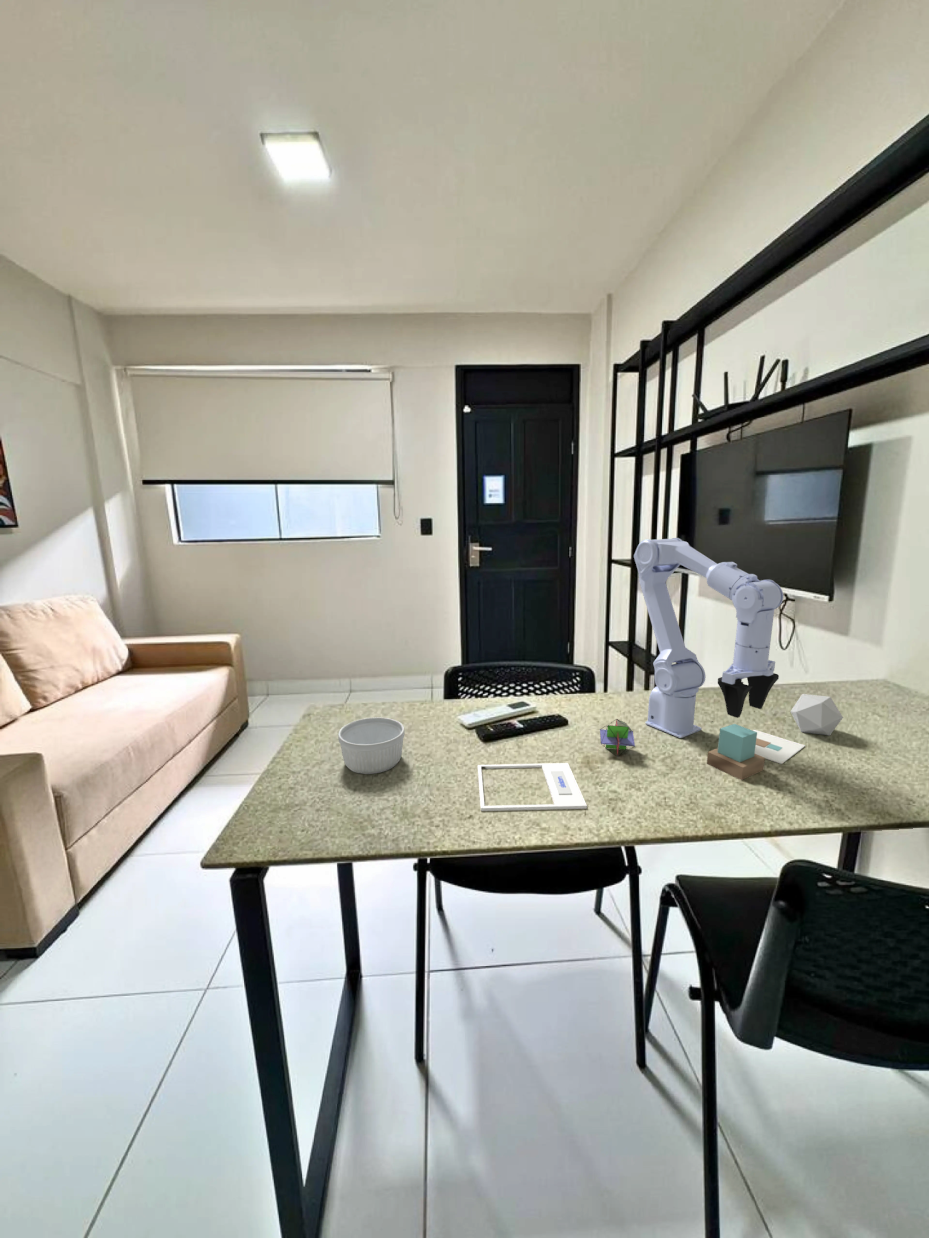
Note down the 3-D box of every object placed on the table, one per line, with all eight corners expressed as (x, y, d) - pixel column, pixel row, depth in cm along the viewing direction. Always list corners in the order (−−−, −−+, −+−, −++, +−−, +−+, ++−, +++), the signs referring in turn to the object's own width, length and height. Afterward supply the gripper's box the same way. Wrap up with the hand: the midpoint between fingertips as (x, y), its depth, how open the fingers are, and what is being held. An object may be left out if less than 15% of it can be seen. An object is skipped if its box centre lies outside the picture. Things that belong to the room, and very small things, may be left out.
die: (833, 729, 110) (807, 689, 113) (860, 726, 102) (831, 683, 105) (800, 744, 110) (775, 703, 113) (824, 742, 101) (796, 698, 105)
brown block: (706, 765, 95) (707, 751, 94) (728, 756, 98) (729, 743, 98) (741, 782, 89) (742, 767, 88) (763, 772, 92) (764, 757, 92)
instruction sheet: (728, 745, 102) (729, 744, 102) (754, 730, 109) (754, 729, 109) (781, 764, 94) (781, 762, 94) (805, 746, 101) (805, 744, 101)
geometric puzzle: (637, 755, 94) (636, 715, 98) (601, 752, 96) (601, 713, 99) (632, 761, 101) (631, 723, 104) (598, 758, 102) (598, 721, 106)
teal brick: (717, 752, 94) (720, 728, 93) (731, 746, 96) (734, 723, 95) (739, 762, 90) (742, 737, 89) (754, 756, 92) (757, 732, 91)
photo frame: (587, 804, 81) (480, 807, 81) (586, 810, 81) (480, 813, 81) (567, 761, 96) (477, 764, 95) (567, 767, 96) (477, 769, 96)
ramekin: (415, 750, 103) (414, 720, 102) (389, 782, 91) (387, 748, 89) (359, 743, 107) (357, 714, 105) (327, 773, 94) (324, 740, 93)
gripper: (752, 655, 84) (744, 727, 87) (794, 643, 92) (786, 710, 94) (714, 646, 90) (707, 714, 93) (756, 635, 97) (749, 698, 100)
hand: (744, 711), depth 94 cm, fingers open, 7 cm apart
